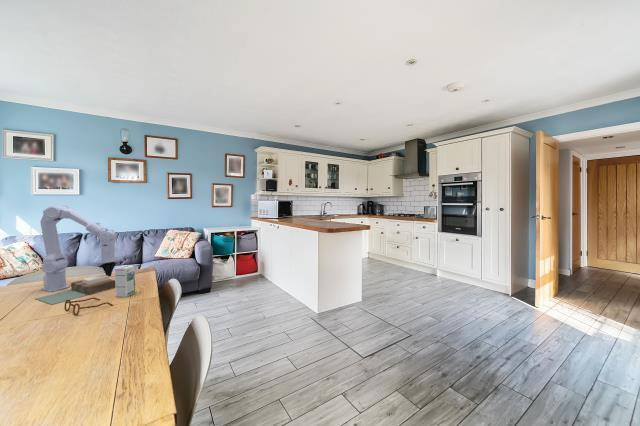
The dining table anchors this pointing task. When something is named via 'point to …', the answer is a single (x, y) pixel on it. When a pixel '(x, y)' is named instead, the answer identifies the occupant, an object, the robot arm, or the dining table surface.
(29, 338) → the dining table surface
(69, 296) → the mat
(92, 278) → the flat white box
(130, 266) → the syrup box
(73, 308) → the glasses
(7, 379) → the dining table surface
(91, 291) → the plate
